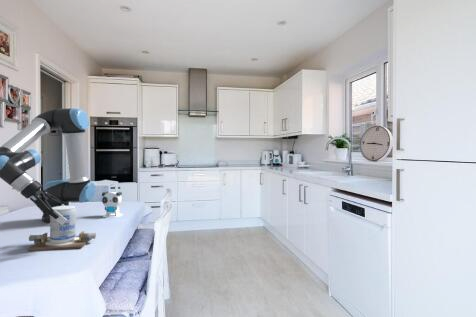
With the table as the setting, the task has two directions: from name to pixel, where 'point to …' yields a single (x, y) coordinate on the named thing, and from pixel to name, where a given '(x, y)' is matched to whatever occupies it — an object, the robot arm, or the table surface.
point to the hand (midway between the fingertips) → (68, 219)
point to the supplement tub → (67, 229)
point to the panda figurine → (112, 204)
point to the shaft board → (45, 244)
